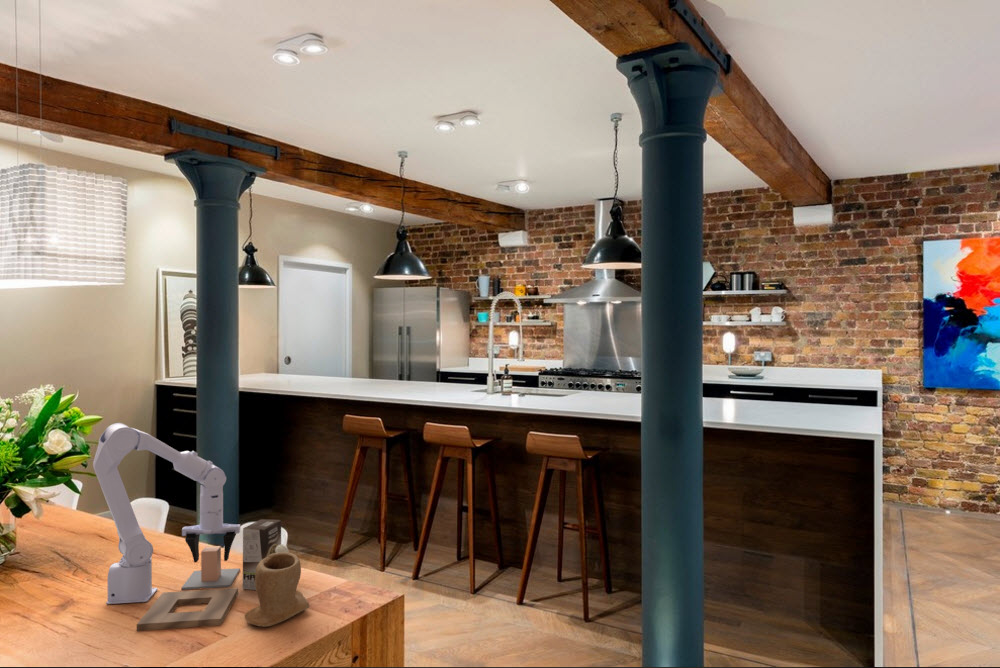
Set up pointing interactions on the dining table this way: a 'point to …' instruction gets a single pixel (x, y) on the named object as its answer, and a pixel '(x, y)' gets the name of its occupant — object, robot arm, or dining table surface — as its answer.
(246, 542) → the coffee box
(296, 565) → the stone cup
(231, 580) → the slate mat
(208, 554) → the terracotta block
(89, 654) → the dining table surface
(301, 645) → the dining table surface
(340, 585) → the dining table surface
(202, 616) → the walnut pocket board
